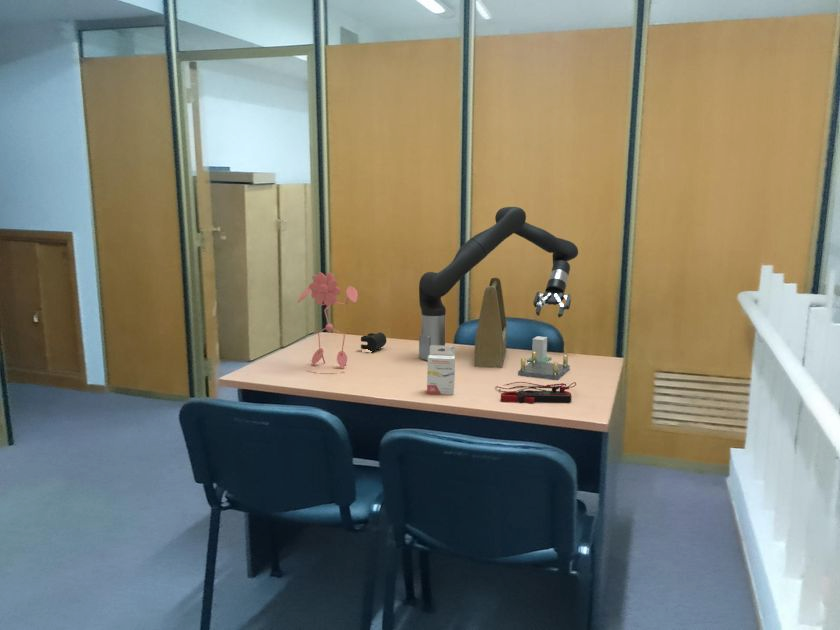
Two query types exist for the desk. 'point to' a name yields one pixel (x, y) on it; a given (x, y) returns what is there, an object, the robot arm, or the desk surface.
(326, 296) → the figurine
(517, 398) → the digital clamp meter
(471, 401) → the desk surface
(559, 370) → the standoff chassis
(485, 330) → the caddy
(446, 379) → the ink cartridge box
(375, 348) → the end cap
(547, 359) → the board module
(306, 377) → the desk surface
